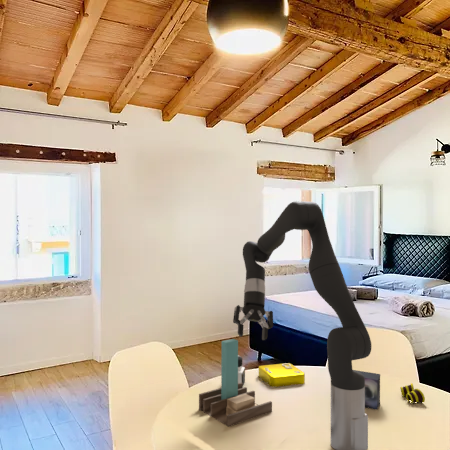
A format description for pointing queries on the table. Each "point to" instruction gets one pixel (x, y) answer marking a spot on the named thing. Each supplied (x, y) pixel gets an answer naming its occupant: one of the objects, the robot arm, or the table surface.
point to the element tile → (281, 375)
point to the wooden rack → (217, 407)
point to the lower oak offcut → (230, 411)
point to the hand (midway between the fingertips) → (252, 338)
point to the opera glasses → (412, 393)
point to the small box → (371, 389)
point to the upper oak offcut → (240, 402)
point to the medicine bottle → (241, 371)
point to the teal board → (229, 369)
